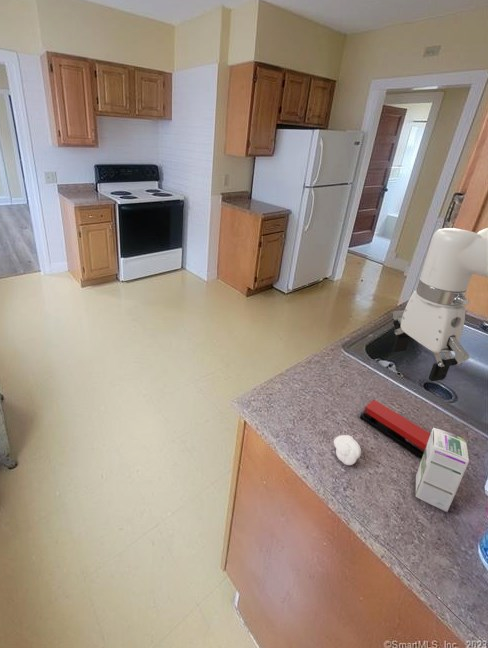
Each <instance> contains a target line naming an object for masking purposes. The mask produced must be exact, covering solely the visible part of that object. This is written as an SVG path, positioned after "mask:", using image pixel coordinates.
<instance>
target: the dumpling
mask: <svg viewBox="0 0 488 648" xmlns="http://www.w3.org/2000/svg"><path fill="white" fill-rule="evenodd" d="M333 445H334V448H335V455H336V457H337V459H338V460H339V462H341V463H343V464H344V465H345V466H353V465H354V464H356V463H357V461H358V460H359V459H360V457H361V455H362V449H361V446H360V444H359V443H358V442H357V440H355V439H354V438H353V436H351V435H348V434H340V435H338V436H336V437H335V438H334V439H333Z"/></svg>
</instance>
